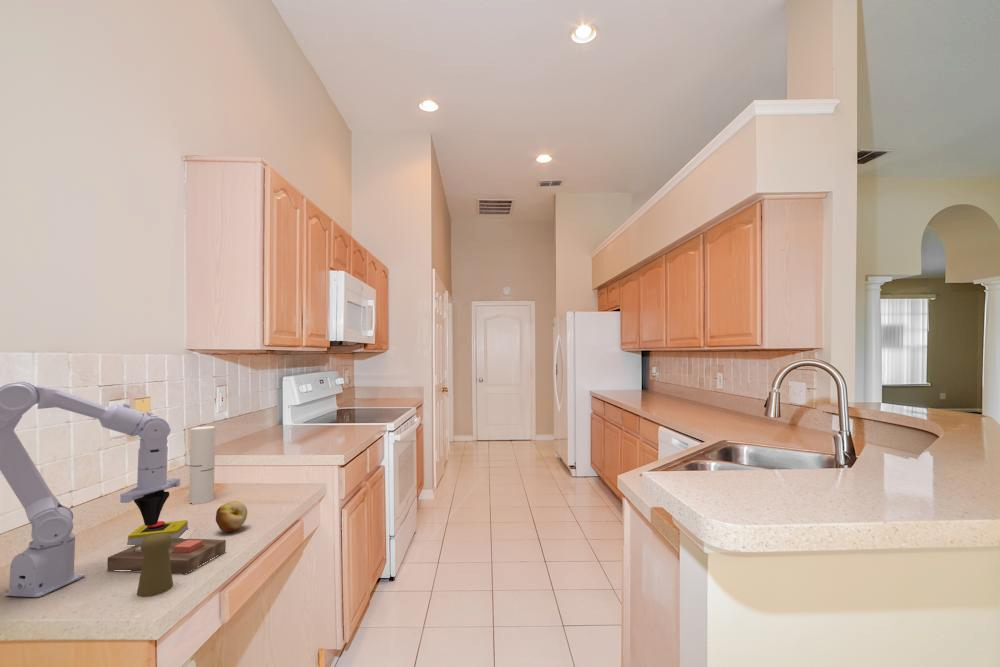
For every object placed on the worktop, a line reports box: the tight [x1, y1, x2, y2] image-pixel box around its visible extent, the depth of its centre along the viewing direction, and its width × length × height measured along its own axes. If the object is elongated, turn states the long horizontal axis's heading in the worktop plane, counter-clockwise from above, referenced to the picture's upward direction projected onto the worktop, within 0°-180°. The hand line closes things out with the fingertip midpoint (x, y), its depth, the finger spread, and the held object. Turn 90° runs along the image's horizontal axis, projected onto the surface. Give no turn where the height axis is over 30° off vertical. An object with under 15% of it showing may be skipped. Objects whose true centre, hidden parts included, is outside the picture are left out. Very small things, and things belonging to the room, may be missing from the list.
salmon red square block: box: [174, 540, 203, 553], centre depth 109 cm, size 4×4×3 cm
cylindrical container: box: [188, 425, 216, 505], centre depth 160 cm, size 7×7×25 cm
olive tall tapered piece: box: [136, 533, 174, 598], centre depth 96 cm, size 6×6×11 cm
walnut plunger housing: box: [106, 538, 227, 574], centre depth 110 cm, size 12×20×3 cm, turn 83°
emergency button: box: [127, 519, 189, 545], centre depth 126 cm, size 9×4×15 cm
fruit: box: [215, 500, 248, 533], centre depth 130 cm, size 8×8×8 cm
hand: (150, 524), depth 111 cm, fingers closed
